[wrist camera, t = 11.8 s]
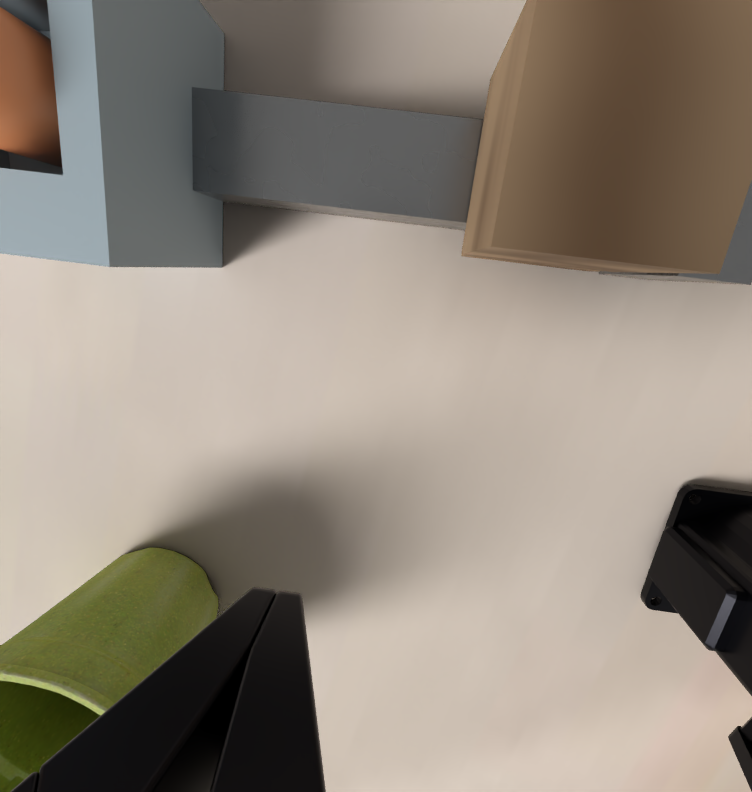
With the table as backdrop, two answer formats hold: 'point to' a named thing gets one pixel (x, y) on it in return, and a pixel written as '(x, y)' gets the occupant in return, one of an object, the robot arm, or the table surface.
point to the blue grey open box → (118, 138)
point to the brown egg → (27, 93)
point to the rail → (364, 165)
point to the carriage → (616, 137)
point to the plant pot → (94, 652)
